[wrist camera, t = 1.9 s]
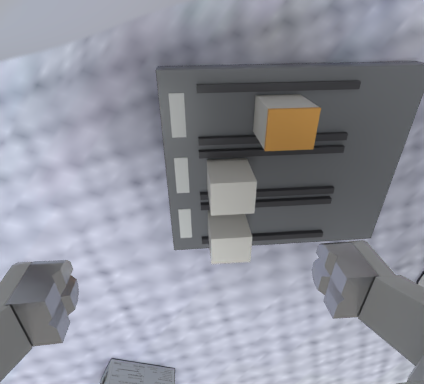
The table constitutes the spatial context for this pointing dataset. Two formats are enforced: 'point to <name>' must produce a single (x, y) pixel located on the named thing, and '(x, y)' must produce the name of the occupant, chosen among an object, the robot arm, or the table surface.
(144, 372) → the light bulb box
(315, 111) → the switch
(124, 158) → the table surface
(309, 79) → the switch panel
